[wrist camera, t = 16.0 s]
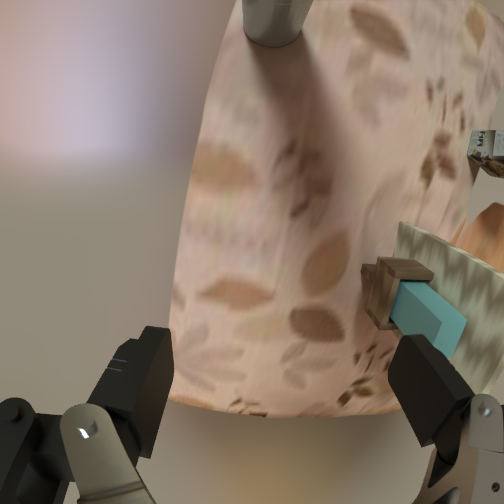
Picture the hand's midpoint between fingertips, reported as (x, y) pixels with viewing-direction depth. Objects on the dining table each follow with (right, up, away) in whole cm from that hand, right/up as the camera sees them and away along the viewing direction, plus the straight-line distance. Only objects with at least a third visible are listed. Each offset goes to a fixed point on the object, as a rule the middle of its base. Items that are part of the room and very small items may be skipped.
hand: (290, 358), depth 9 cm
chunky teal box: (+21, -2, +30) cm, 37 cm away
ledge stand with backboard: (+21, 0, +38) cm, 43 cm away
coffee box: (+46, +24, +31) cm, 60 cm away
